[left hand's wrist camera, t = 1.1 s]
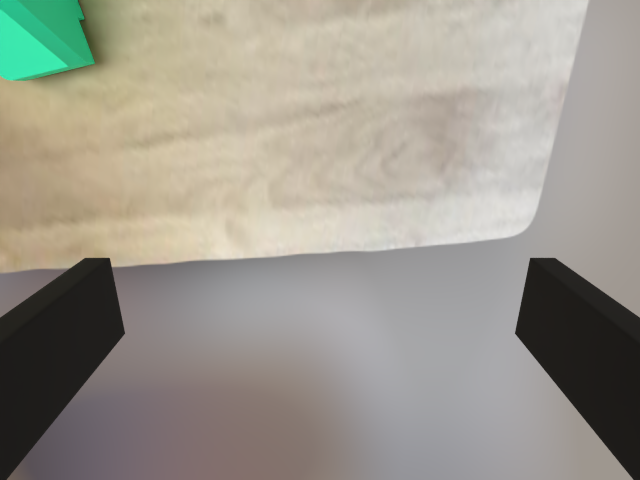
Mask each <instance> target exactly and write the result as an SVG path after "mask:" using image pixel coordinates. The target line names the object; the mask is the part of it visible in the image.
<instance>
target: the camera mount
mask: <svg viewBox="0 0 640 480" xmlns="http://www.w3.org/2000/svg"><path fill="white" fill-rule="evenodd" d="M80 20H84V16H83V13H82V11H81V8H80V5H79V3H78V0H0V76H1V77H3V78H5V79H7V80H17V81H26V80H30V79H34V78H38V77H42V76H47V75H51V74H55V73H59V72H63V71H67V70H71V69H75V68H79V67H83V66H87V65H92V64H95V62H94V59H93V57H92V54H91V51H90V49H89V46H88V43H87V41H86V38H85V35H84V33H83V30H82V27H81V25H80V22H79V21H80Z"/></svg>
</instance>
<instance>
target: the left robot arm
mask: <svg viewBox="0 0 640 480" xmlns="http://www.w3.org/2000/svg"><path fill="white" fill-rule="evenodd" d="M124 334H125V331H124V326H123V321H122V316H121V312H120V306H119V301H118V297H117V292H116V287H115V282H114V277H113V272H112V267H111V262H110V258H84V259H83V260H82V261H80V262H79V263H77V264H76V265H74V266H73V267H72V268H70V269H69V270H67V271H66V272H65V273H63V274H62V275H60V276H59V277H57V278H56V279H55V280H53V281H52V282H50V283H49V284H47V285H46V286H45V287H43V288H42V289H40V290H39V291H38V292H36V293H35V294H33V295H32V296H30V297H29V298H28V299H26V300H25V301H23V302H22V303H21V304H19V305H18V306H16V307H15V308H13V309H12V310H10V311H9V312H8V313H6V314H5V315H3V316H2V317H1V318H0V480H7V478H8V477H9V476H10V475H11V473H12V472H13V471H14V470H15V468H16V467H17V466H18V465H19V464H20V462H21V461H22V460H23V459H24V457H25V456H26V455H27V454H28V452H29V451H30V450H31V449H32V448H33V446H34V445H35V444H36V443H37V441H38V440H39V439H40V438H41V436H42V435H43V434H44V433H45V431H46V430H47V429H48V428H49V426H50V425H51V424H52V423H53V422H54V420H55V419H56V418H57V417H58V415H59V414H60V413H61V412H62V411H63V409H64V408H65V407H66V406H67V404H68V403H69V402H70V401H71V399H72V398H73V397H74V396H75V394H76V393H77V392H78V391H79V390H80V388H81V387H82V386H83V385H84V383H85V382H86V381H87V380H88V378H89V377H90V376H91V375H92V373H93V372H94V371H95V370H96V369H97V367H98V366H99V365H100V364H101V362H102V361H103V360H104V359H105V357H106V356H107V355H108V354H109V353H110V351H111V350H112V349H113V348H114V346H115V345H116V344H117V343H118V341H119V340H120V339H121V338H122V336H123V335H124ZM515 334H516V335H517V336H518V338H519V339H520V340H521V341H522V343H523V344H524V345H525V346H526V348H527V349H528V350H529V351H530V353H531V354H532V355H533V356H534V357H535V359H536V360H537V361H538V362H539V364H540V365H541V366H542V367H543V368H544V370H545V371H546V372H547V373H548V375H549V376H550V377H551V378H552V380H553V381H554V382H555V383H556V385H557V386H558V387H559V388H560V390H561V391H562V392H563V393H564V394H565V396H566V397H567V398H568V399H569V401H570V402H571V403H572V404H573V406H574V407H575V408H576V409H577V410H578V412H579V413H580V414H581V415H582V417H583V418H584V419H585V420H586V422H587V423H588V424H589V425H590V427H591V428H592V429H593V430H594V431H595V433H596V434H597V435H598V436H599V438H600V439H601V440H602V441H603V443H604V444H605V445H606V446H607V447H608V449H609V450H610V451H611V452H612V454H613V455H614V456H615V457H616V459H617V460H618V461H619V462H620V464H621V465H622V466H623V467H624V468H625V470H626V471H627V472H628V473H629V475H630V476H631V477H632V478H633V480H640V318H639V317H638V316H637V315H635V314H634V313H632V312H631V311H629V310H628V309H627V308H625V307H624V306H622V305H621V304H619V303H618V302H617V301H615V300H614V299H612V298H611V297H609V296H608V295H607V294H605V293H604V292H602V291H601V290H600V289H598V288H597V287H595V286H594V285H593V284H591V283H590V282H588V281H587V280H585V279H584V278H583V277H581V276H580V275H578V274H577V273H575V272H574V271H573V270H571V269H570V268H568V267H567V266H566V265H564V264H563V263H561V262H560V261H558V260H557V259H556V258H530V262H529V267H528V272H527V277H526V282H525V287H524V292H523V297H522V302H521V307H520V312H519V316H518V321H517V326H516V331H515Z"/></svg>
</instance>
